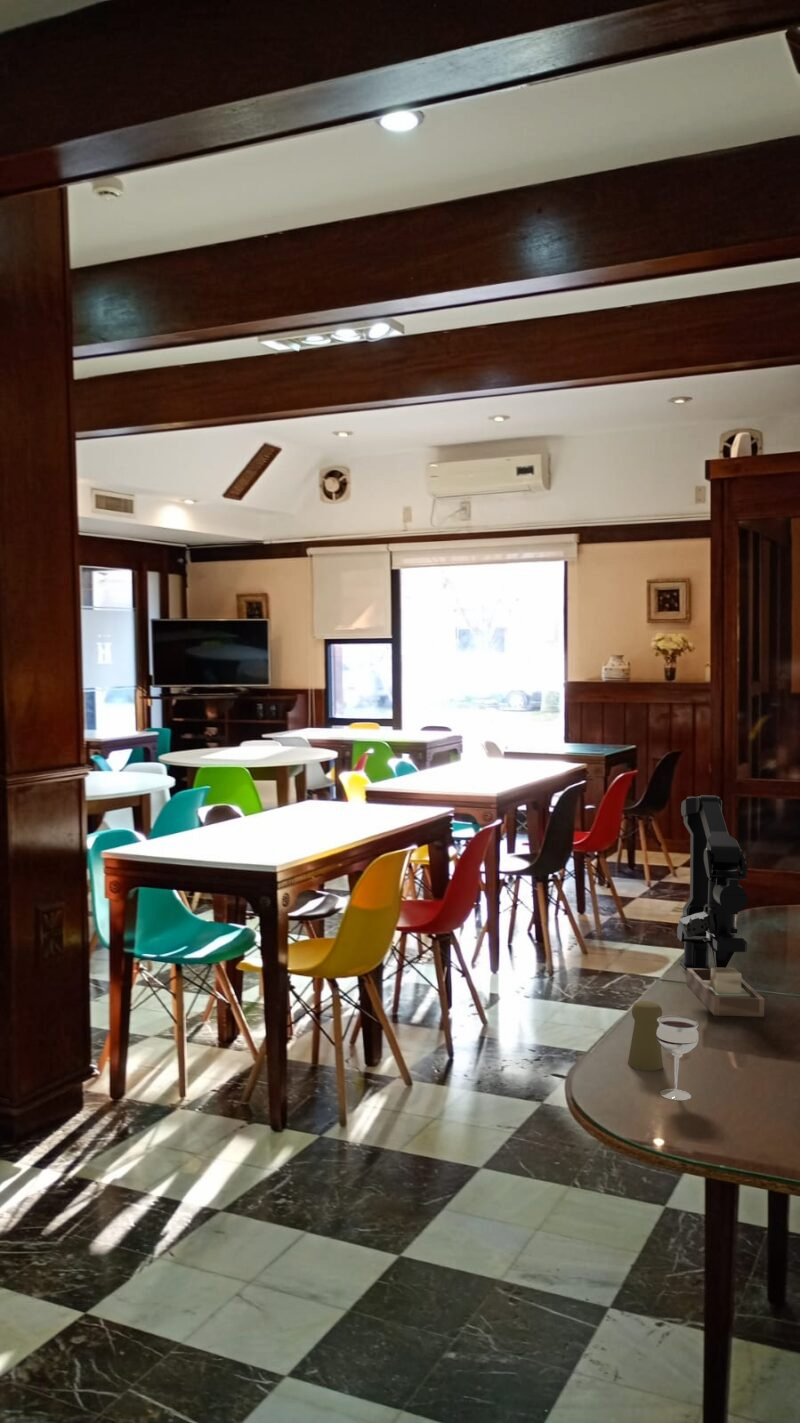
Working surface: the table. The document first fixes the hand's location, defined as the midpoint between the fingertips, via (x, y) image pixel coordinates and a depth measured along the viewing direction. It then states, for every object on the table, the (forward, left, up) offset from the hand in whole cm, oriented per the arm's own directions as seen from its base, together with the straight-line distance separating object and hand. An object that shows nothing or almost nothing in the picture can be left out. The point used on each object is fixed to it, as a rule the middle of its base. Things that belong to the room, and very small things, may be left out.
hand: (718, 974), depth 247 cm
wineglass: (+59, -23, -5) cm, 64 cm away
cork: (+45, -25, -5) cm, 52 cm away
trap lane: (+4, 0, -4) cm, 6 cm away
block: (+5, 0, -2) cm, 6 cm away
